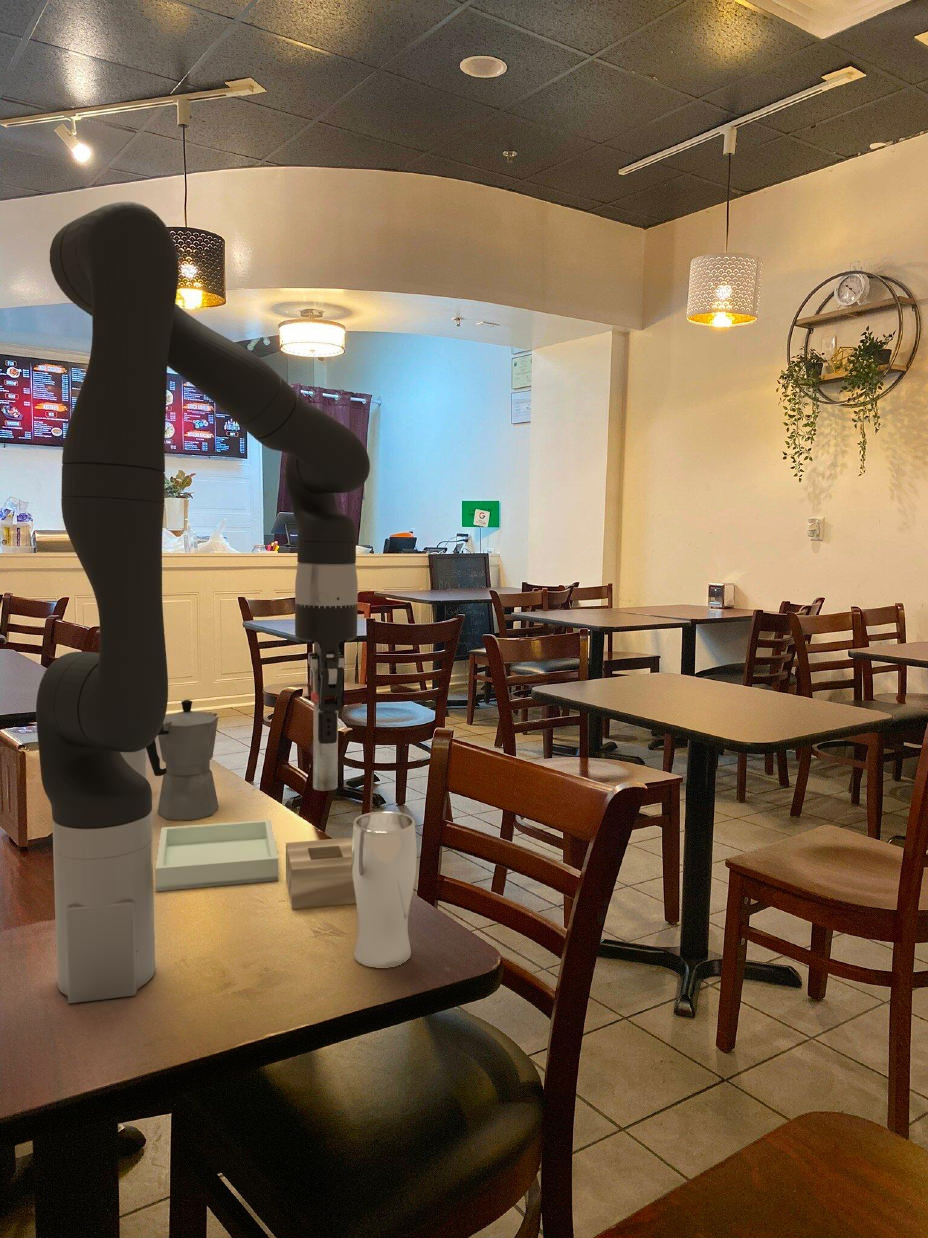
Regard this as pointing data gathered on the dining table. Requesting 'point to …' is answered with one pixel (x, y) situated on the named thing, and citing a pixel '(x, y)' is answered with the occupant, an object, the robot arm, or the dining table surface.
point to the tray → (216, 855)
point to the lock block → (319, 873)
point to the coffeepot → (186, 764)
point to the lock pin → (324, 755)
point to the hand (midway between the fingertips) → (325, 738)
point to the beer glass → (383, 886)
